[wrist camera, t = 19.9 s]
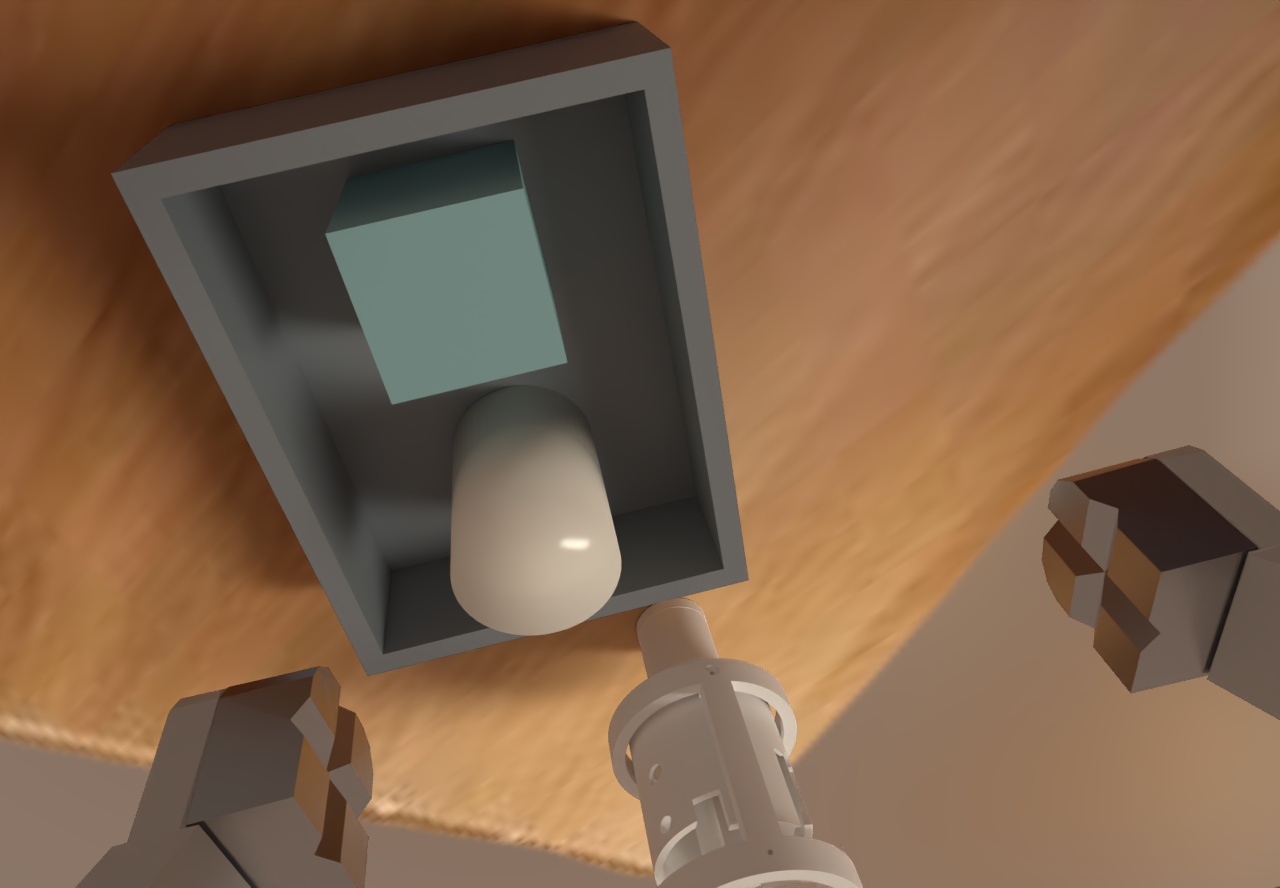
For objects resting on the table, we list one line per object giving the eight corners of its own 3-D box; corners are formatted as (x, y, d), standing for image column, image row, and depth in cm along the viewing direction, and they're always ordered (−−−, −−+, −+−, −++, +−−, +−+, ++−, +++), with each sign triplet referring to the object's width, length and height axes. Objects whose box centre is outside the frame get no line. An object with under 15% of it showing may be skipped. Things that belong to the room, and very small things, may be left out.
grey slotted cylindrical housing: (738, 676, 41) (859, 1023, 28) (587, 688, 40) (644, 1056, 27) (759, 557, 37) (908, 895, 25) (593, 566, 36) (662, 927, 24)
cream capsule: (434, 404, 30) (427, 528, 24) (576, 370, 31) (603, 484, 25) (474, 517, 33) (477, 652, 27) (604, 484, 33) (635, 612, 27)
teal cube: (402, 329, 29) (391, 404, 25) (347, 177, 26) (324, 233, 22) (552, 293, 29) (567, 362, 25) (513, 140, 26) (522, 188, 22)
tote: (169, 125, 25) (110, 173, 21) (636, 21, 26) (670, 47, 21) (379, 581, 35) (367, 676, 30) (715, 498, 35) (748, 580, 31)
